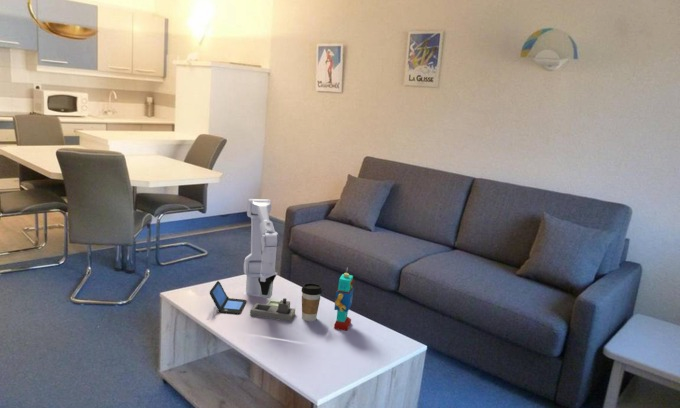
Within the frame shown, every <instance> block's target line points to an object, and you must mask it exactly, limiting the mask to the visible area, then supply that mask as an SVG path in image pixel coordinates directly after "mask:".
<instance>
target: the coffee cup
mask: <svg viewBox="0 0 680 408" xmlns="http://www.w3.org/2000/svg"><path fill="white" fill-rule="evenodd" d="M322 292H323V290H322V285H320V284H318V283H313V282H306V283H303V285H302V286H301V294H302V295H301V319H302V320H303V321H306V322H315V321H316V320H317V317H318V311H319V307H320V301H321V294H322Z"/></svg>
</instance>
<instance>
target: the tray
mask: <svg viewBox="0 0 680 408" xmlns="http://www.w3.org/2000/svg"><path fill="white" fill-rule="evenodd" d="M279 302H280V301H278V300H272V299H270V300H269V301H268V302H267V303H266V304H268V305H274V306H278V304H279Z"/></svg>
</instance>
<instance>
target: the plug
mask: <svg viewBox="0 0 680 408" xmlns="http://www.w3.org/2000/svg"><path fill="white" fill-rule="evenodd" d="M268 279H269V278H268ZM273 288H274V281H273V282H271V284H270V286H269V291H268V294H267V295H262V292H261V293H260V298H263V299H270V298H271V297H272V296H273Z"/></svg>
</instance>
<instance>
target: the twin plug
mask: <svg viewBox="0 0 680 408" xmlns="http://www.w3.org/2000/svg"><path fill="white" fill-rule="evenodd" d="M290 308H291V301H290V300H289V301H288V300H287V298H285V297H284V298H282V299H281V300H280V301H279V304H278V313H283V314H289V312H290Z"/></svg>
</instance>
